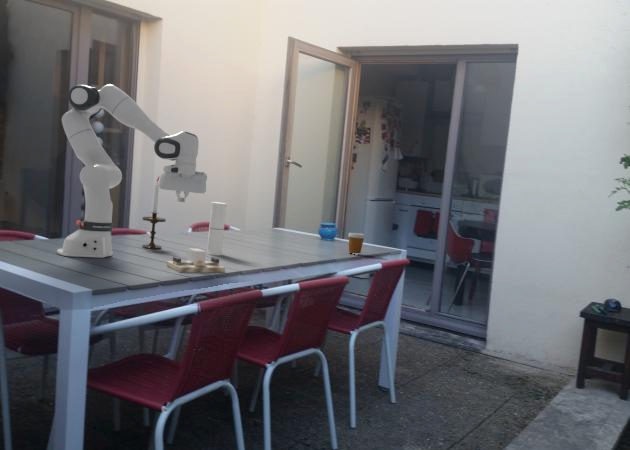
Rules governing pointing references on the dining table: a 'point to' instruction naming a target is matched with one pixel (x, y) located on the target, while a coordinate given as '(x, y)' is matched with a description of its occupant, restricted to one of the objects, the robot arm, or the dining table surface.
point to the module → (196, 256)
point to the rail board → (189, 267)
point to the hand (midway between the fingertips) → (181, 201)
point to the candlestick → (154, 220)
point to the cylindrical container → (216, 228)
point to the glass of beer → (355, 242)
